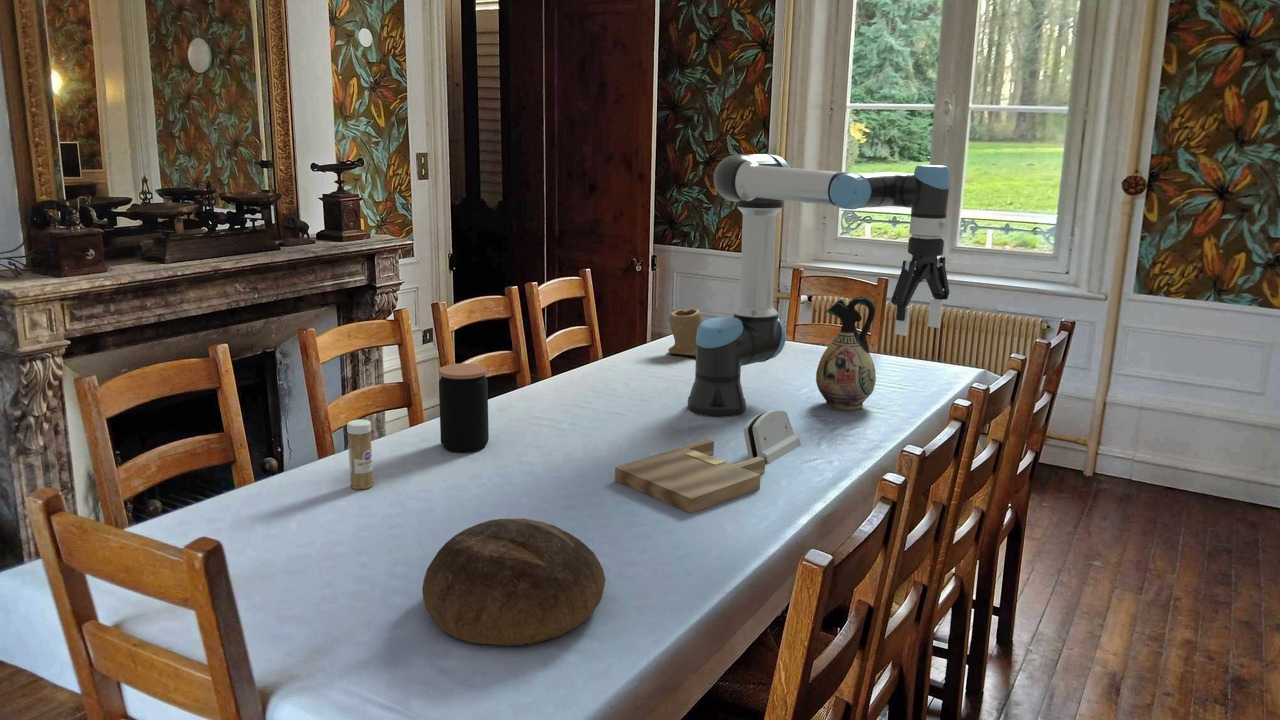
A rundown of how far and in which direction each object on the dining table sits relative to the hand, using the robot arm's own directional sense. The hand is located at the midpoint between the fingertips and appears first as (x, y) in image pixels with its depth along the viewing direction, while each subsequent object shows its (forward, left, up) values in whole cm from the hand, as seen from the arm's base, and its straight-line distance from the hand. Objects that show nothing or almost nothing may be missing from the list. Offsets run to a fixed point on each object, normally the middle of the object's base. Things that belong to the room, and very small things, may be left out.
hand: (917, 331), depth 215 cm
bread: (+4, -113, -28) cm, 117 cm away
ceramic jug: (-29, +16, -28) cm, 43 cm away
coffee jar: (-65, -79, -28) cm, 106 cm away
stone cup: (-95, +24, -28) cm, 101 cm away
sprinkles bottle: (-57, -108, -28) cm, 125 cm away
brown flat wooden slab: (-16, -53, -27) cm, 62 cm away
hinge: (-19, -27, -28) cm, 43 cm away
